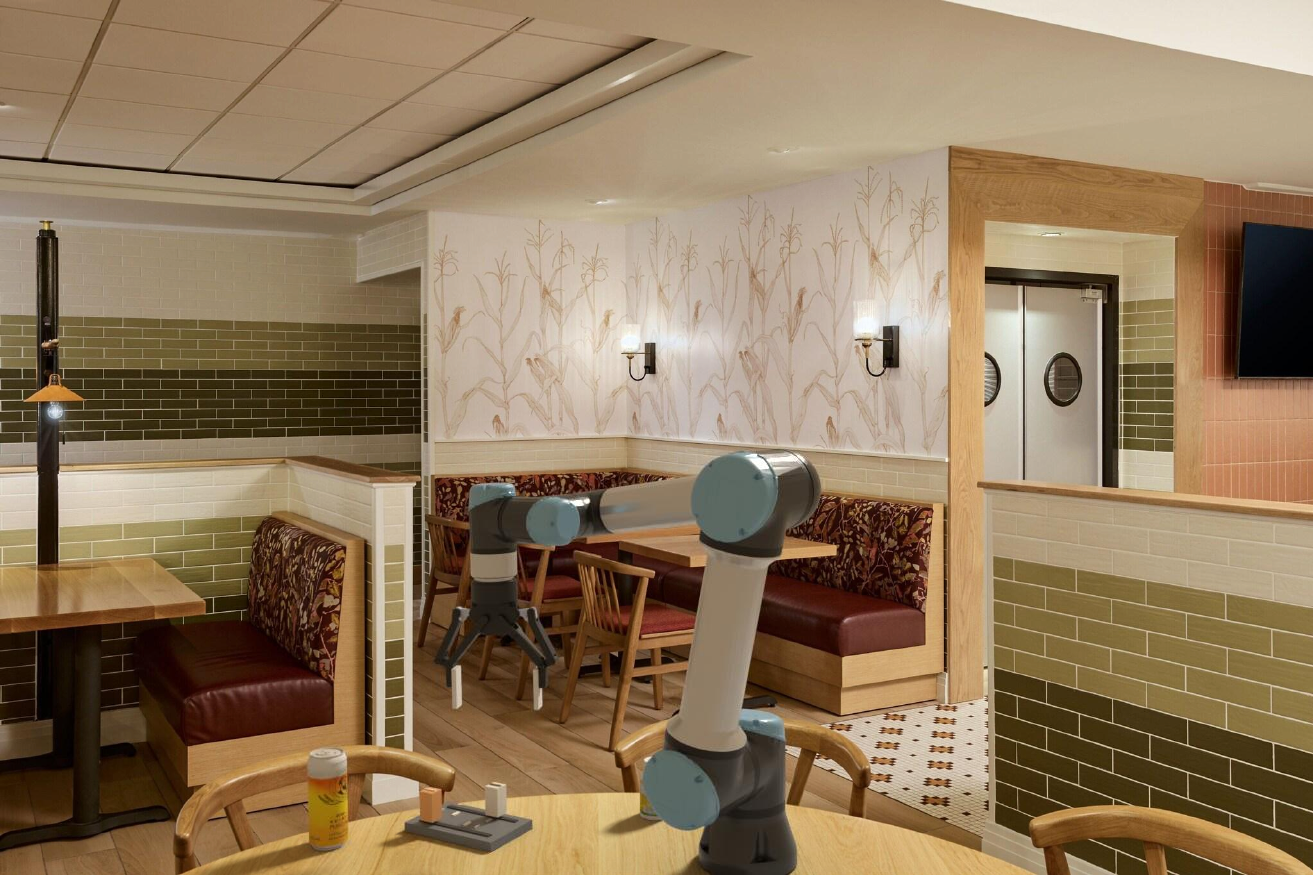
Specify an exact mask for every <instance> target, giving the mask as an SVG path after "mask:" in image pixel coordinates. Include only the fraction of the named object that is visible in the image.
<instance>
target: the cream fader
mask: <svg viewBox="0 0 1313 875" xmlns="http://www.w3.org/2000/svg"><path fill="white" fill-rule="evenodd" d="M484 809H485V815H489V816H493V817H500V816H502V815H503V814H507V813H508V811H507V809H508V808H507V784H506V783H500V782H496V781H492V782H490V783H489V784H487V785H485V786H484Z"/></svg>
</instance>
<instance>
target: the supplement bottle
mask: <svg viewBox="0 0 1313 875" xmlns="http://www.w3.org/2000/svg"><path fill="white" fill-rule="evenodd" d="M652 756H653V755H652ZM652 756H648V757H645V758H644V759H643V769H644V768H645V765H646V763H647V762H648V760H649V759H650V758H651V757H652ZM643 772H644V770H643V771H641V773H640V774H639V814H640V817H642V818H643V819H644V820H648V821H662V820H661V819H660V818H659V817H658V816H657V815H656V813H655V812H654V810H653V807H652V805H651V804H650V803H649V802H648V800H647V798H646V795H645V792H644V788H643Z"/></svg>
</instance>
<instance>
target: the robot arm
mask: <svg viewBox="0 0 1313 875" xmlns="http://www.w3.org/2000/svg"><path fill="white" fill-rule="evenodd" d="M821 495H822V483H821V478H820V476H819V473H818V471H817V469H816V467H815V466H814V465H813V464H812V462H811V461H810V460H809V459H808V458H807V457H806V456H804V455H803V454H801V453H799V452H797V451H794V450H791V449H786V448H775V449H773V448H772V449H767V450H766V449H764V450H753V451H752V450H750V451H747V450H738V451H734V452H730V453H727V454H724V455H720V456H718V457H715V458H714V459H712V460H711V461H710V462H708V463H707V464H706V465H704V467H703V468H702V469H701V470H700V472H698V475H690V476H684V477H678V478H677V477H676V478H671V479H664V480H663V479H662V480H657V481H649V482H645V483H644V482H643V483H636V484H631V485H630V484H629V485H623V486H617V487H616V486H615V487H610V488H603V489H600V488H599V489H594V490H589V491H581V492H580V491H579V492H573V493H565V494H555V495H547V496H518V495H517V493H516V488H515V485H514V484H513V483H510V482H509V483H508V482H489V483H488V482H484V483H477V484H473V485H472V486H471V487H470V489H469V497H468V498H469V499H468V509H467V511H468V519H469V520H468V521H469V543H470V544H469V545H470V548H469V550H470V551H469V552H470V554H469V555H470V557H469V558H470V576H471V577H472V578H473V579H472V580H471V581H470V591H471V592H470V594H471V595H470V596H471V600H470V601H471V607H470V608H465V607H463V606H462V605H458V606H456V607H455V608H454V609H452V612H451V622H450V624H449V627H448V629H447V631H446V633H445V635H444V637H443V639H442V642H441V644H440V646H439V648H438V649H437V653H436V655H435V657H434V660H433V662H434V664H435V665H441V666H442V667H444V668H445V685H446V687H447V688H451V701H452V703H451V704H452V706H451V707H452V710H458V709H459V708H460V707H461V706H462V705H463V701H462V700H463V699H462V698H463V695H462V694H463V693H462V690H463V688H462V666H461V664H460V665H457V663H458V662H459V660H460V659H461V657H463V655H464V654H465V653H466V652H467V650H468V649H469V648H470V647H471V645H472V644H473V643H474V642H475V640H476V639H477V638H478V636H480V635H484V636H485V637H489V636H493V635H494V636H499V637H501V636H505V635H506V636H507V635H509V638H511V639H513V640H514V641H515V642H516V644H517V645H518V646H519V647H520V648H521V650H523V652H524V653H525V654H526V655H527V657H528V658H529V659H530V660H531V661H532V663H533V664H534V665H535V666H534V669H533V670H532V676H533V677H532V682H533V684H532V685H533V686H532V687H533V689H532V690H533V710H534V711H539V710H541V708H542V707H543V689H545V688H546V687H548V685H549V684H548V683H549V681H548V680H549V678H548V673H549V672H548V669H549V667H551V666H554V665H555V664H557V662H558V661H559V660H560V657H559V656H558V652H556V650H555V648H554V645H553V644H552V642H551V640H550V637H549V636H548V634H547V632H546V631H545V628H544V626H543V624H542V623H541V621H540V616H539V610H538V607H537V606H535V605H533V606H531V607H527V608H520V605H519V593H518V591H519V588H518V585H519V584H518V579H517V578H516V577H515V576H517V574H518V556H517V555H518V553H517V552H518V550H517V548H518V547H517V544H525V545H533V546H534V545H535V546H536V545H537V546H543V547H547V548H548V547H549V548H550V547H555V546H557V547H560V546H561V547H562V546H567V545H569V544H570V543H571V542H572V541H573V540H577V539H583V538H591V537H597V536H598V537H599V536H606V535H615V534H620V533H622V534H623V533H631V532H639V531H648V530H656V529H665V528H674V527H675V528H676V527H682V526H683V527H684V526H693V525H697V526H698V528H699V529H700V530H699V535H698V536H699V537H698V542H699V544H700V546H701V547H702V548H703V550H704V551H705V552H706V559H705V565H704V572H703V576H702V577H703V578H702V582H701V588H700V595H699V599H698V605H697V611H696V617H695V623H694V628H693V634H692V639H691V640H692V641H691V643H690V644H691V645H690V651H689V657H688V663H687V667H686V668H687V669H686V675H685V680H684V683H683V684H684V685H683V690H682V698H681V702H680V708H679V712H678V713H677V714H675V715H673V716H672V717H670V718H669V719H668V721H667V722H666V725H665V732H664V736H663V742H662V747H661V750H658V751H657V752H655V753H653V754H652V757H651V756H650V757H651V758H650V759H649V760H648V762H647V763H646V765H645V768H644V767H643V771H644V772H643V788H644V792H645V795H646V798H647V800H648V802H649V803H650V804H651V805H652V807H653V810H654V812H655V813H656V815H657V816H658V817H659V818H660V819H661V820H660V821H663V822H664V823H665V824H666V825H668V826H669V827H672V828H674V829H676V830H680V831H683V832H684V831H685V832H688V831H689V832H691V831H696V830H698V829H700V828H703V830H702V832H701V836H700V839H699V842H698V863H699V865H700V866H701V868H702V869H703V870H705V871H706V872H708V873H710V874H712V875H787V874H789V873H791V872H793V871H794V870H795V868H797V866H798V848H797V843H796V840H795V837H794V835H793V831H792V827H791V824H790V822H789V818H788V815H787V812H786V743H787V738H786V732H785V731H786V730H785V722H784V720H783V719H782V718H781V717H780V716H778V715H776V714H774V713H771V712H769V711H768V712H767V711H763V710H758V709H749V708H743V704H744V697H745V694H746V687H747V683H748V682H747V681H748V677H749V676H748V675H749V670H750V665H751V660H752V655H753V648H754V644H755V637H756V633H757V628H758V622H759V616H760V612H761V608H762V607H761V605H762V602H763V601H762V600H763V594H764V590H765V586H766V585H765V584H766V580H767V576H768V569H769V566H770V565H771V564H772V563H773V562H776V561H777V560H778V559H780V558H781V557H782V553H783V548H784V542H785V537H786V534H787V533H786V532H787V530H790V529H794V528H796V527H799V526H800V525H802V524H803V523H805V522H806V521H807V520H809V519H810V518H811V516H813V514H814V513H815V512H816V510H817V508H818V506H819V503H820V500H821ZM468 617H469V618H470V620H471V622H473V624H474V626H473V627H472V628H471V629H470V631H469V632H468V633H467V635H466V636H465V638H463V640H462V641H461V642H460V643H459V645H458V646H457V647H456V649H455V650H454V651H453V653H452V654H451V655H450V656H448V654H449V653H450V650H451V648H452V646H453V644H454V642H455V639H456V638H457V635H458V632H459V630H460V628H461V626H462V624H463V622H464V621H466V620H467V618H468ZM521 617H523V619H524V621H525V622H527V623H528V625H529V628H530V630H531V632H532V634H533V635H534V637H535V639H536V642H537V644H538V645H539V648H540V650H541V651H542V652H541V651H540V650H539V649H538V647H537V646H536V645H535V644H534V643H533V642H532V640H531V639H530V638H529V637H528V636H527V634H526V633H525V632H524V631H523V629H522V627H521V626H520V625H519V624H518V621H519V619H520V618H521Z"/></svg>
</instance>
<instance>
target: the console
mask: <svg viewBox="0 0 1313 875" xmlns="http://www.w3.org/2000/svg"><path fill="white" fill-rule="evenodd" d="M458 804H459V803H458V802H452V801H446V802H443V803H442V818H441V819H439V820H437V821H435V822H433V823H431V822H426V821H422V820H420V814H418V815H417V816H415V817H412V818H411V819H409V820H406V821H405V822H404V832H405V833H410V834H415V835H419V836H423V837H427V838H432V839H435V840H439V841H444V842H448V843H452V844H456V845H460V846H465V847H468V848H472V849H478V850H482V851H486V852H489V853H492V852H494V851H496V850H497V849H499V848H500V847H503V846H505V845H506V844H508V843H510V842H511V841H513V840H515V839H517V838H519V837H520V836H522V835H523V834H526V833H527V832H529V831H531V830H533V819H531V818H525V817H520V816H516V815H514V814H513V815H511V814H507V813H505V814H503V815H502V816H500V817H493V816H489V815H485V808H480V807H475V806H470V805H467V804H462V805H458Z"/></svg>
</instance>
